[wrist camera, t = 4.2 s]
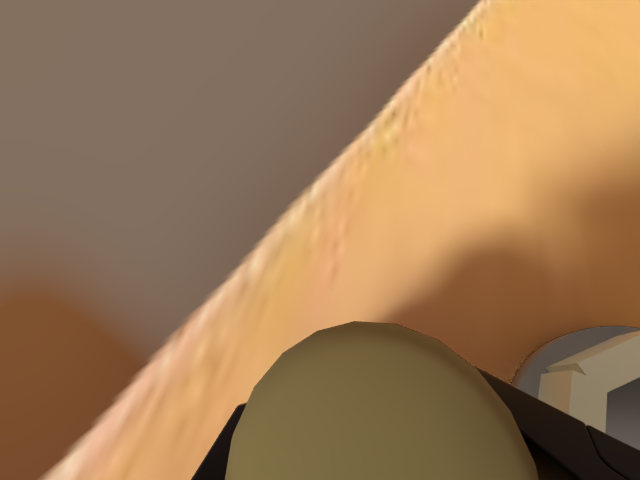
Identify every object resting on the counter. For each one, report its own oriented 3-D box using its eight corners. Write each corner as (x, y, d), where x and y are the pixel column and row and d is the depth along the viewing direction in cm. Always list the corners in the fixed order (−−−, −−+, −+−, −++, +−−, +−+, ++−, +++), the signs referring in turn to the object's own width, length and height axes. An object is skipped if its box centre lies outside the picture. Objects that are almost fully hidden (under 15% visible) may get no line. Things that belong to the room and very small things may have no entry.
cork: (350, 329, 16) (382, 216, 6) (446, 435, 14) (746, 532, 4) (254, 419, 14) (75, 468, 4) (345, 557, 12) (410, 1312, 2)
